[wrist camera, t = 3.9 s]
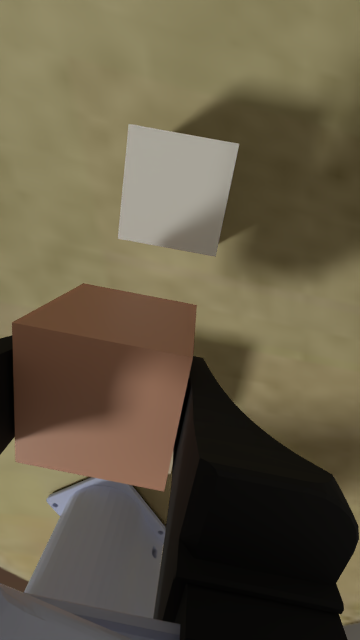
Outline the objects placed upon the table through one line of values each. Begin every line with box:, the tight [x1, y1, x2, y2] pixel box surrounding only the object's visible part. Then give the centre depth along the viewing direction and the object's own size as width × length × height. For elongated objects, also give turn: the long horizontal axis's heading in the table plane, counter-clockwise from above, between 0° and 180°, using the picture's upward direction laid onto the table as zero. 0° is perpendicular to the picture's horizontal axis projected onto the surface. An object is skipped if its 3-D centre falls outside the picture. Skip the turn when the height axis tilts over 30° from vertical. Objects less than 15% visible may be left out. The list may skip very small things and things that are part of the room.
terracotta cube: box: [12, 283, 197, 491], centre depth 11 cm, size 5×5×5 cm
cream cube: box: [118, 124, 239, 257], centre depth 15 cm, size 5×5×5 cm
